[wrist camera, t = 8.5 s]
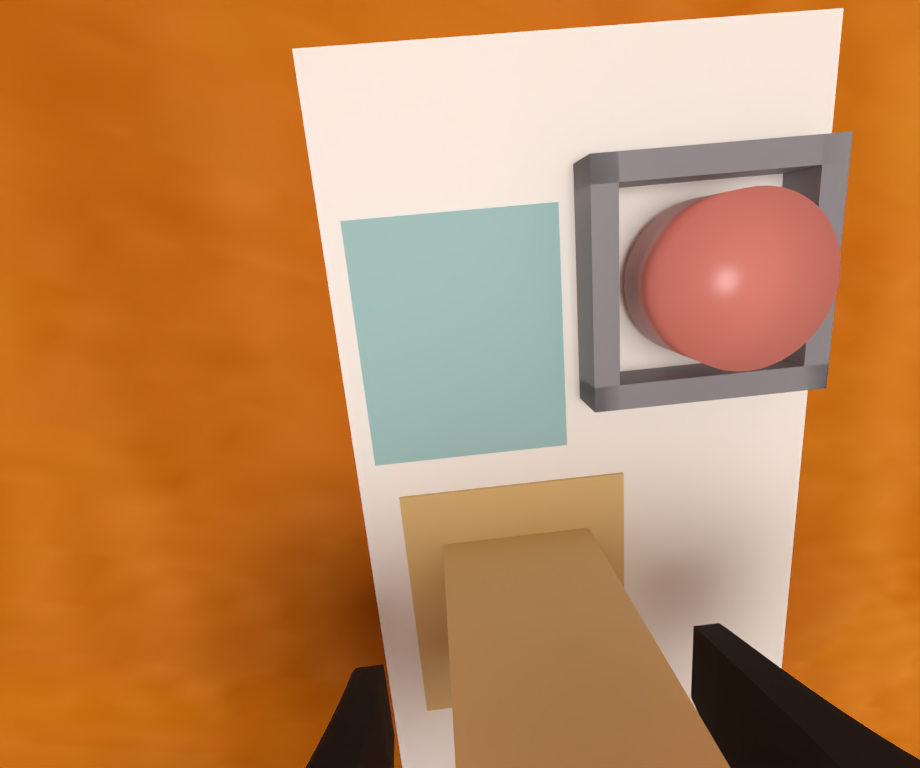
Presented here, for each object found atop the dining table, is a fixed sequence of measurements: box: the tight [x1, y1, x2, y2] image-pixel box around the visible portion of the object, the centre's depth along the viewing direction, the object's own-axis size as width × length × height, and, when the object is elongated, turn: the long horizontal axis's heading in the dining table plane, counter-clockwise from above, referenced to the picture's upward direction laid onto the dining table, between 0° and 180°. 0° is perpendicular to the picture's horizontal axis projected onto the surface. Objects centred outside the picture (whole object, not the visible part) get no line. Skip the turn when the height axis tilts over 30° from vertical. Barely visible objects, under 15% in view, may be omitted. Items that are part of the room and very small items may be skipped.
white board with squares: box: [292, 8, 853, 768], centre depth 13 cm, size 20×12×2 cm, turn 5°
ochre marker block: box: [443, 528, 730, 768], centre depth 11 cm, size 4×4×7 cm
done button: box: [624, 186, 841, 371], centre depth 11 cm, size 4×4×2 cm
